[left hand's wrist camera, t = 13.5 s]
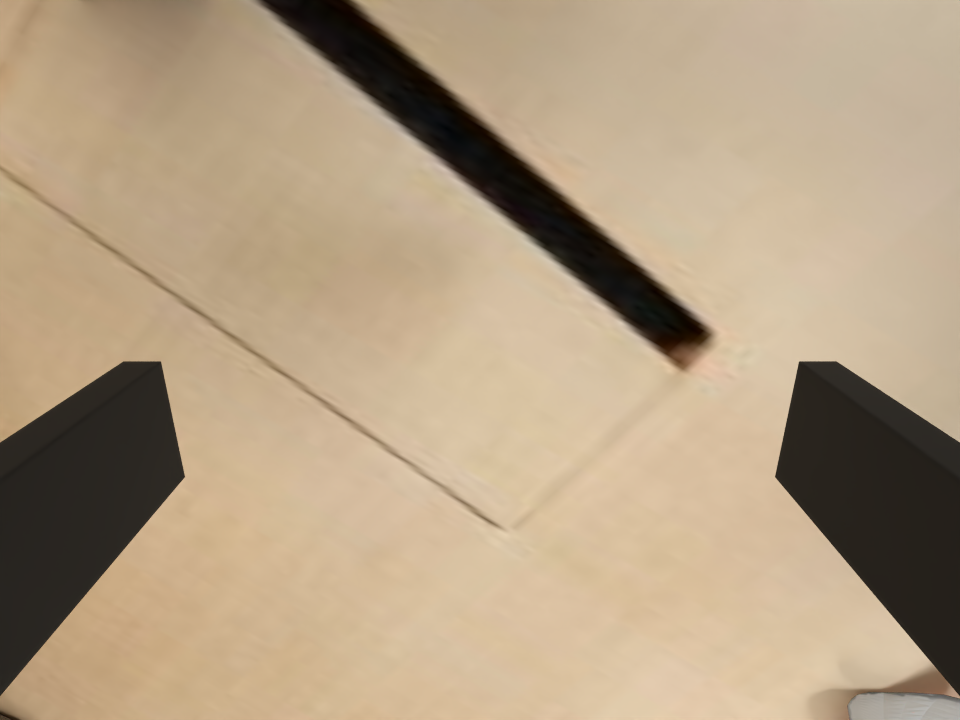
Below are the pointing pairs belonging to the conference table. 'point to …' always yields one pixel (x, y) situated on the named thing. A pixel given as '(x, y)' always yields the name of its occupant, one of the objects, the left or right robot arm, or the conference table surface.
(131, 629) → the conference table surface
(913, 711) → the fish
